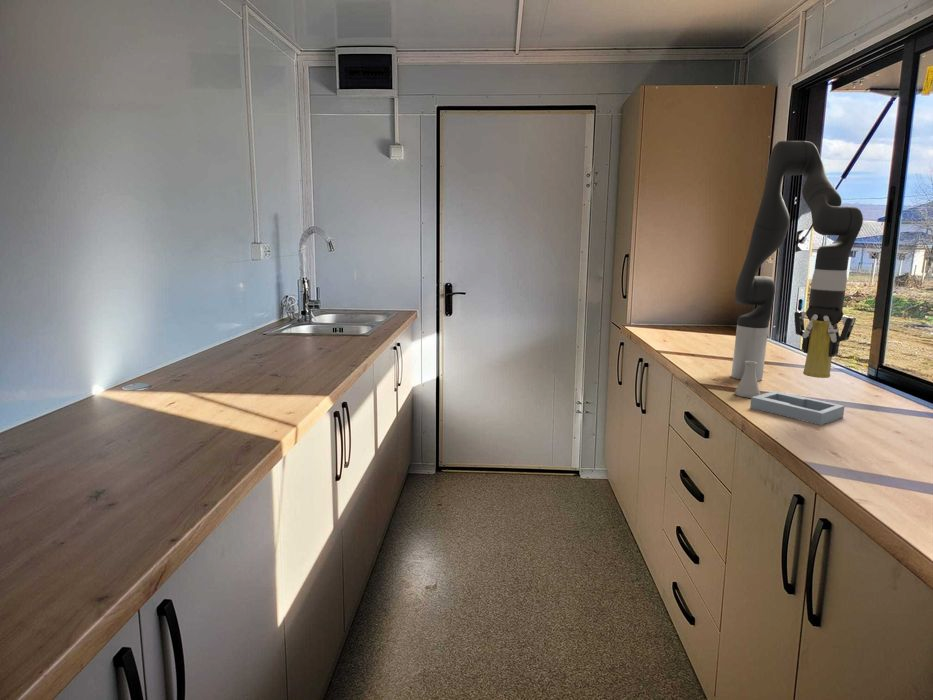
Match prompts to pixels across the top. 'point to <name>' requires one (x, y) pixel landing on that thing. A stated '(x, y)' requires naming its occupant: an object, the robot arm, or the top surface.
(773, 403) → the keyhole board
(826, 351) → the vase
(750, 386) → the flask
